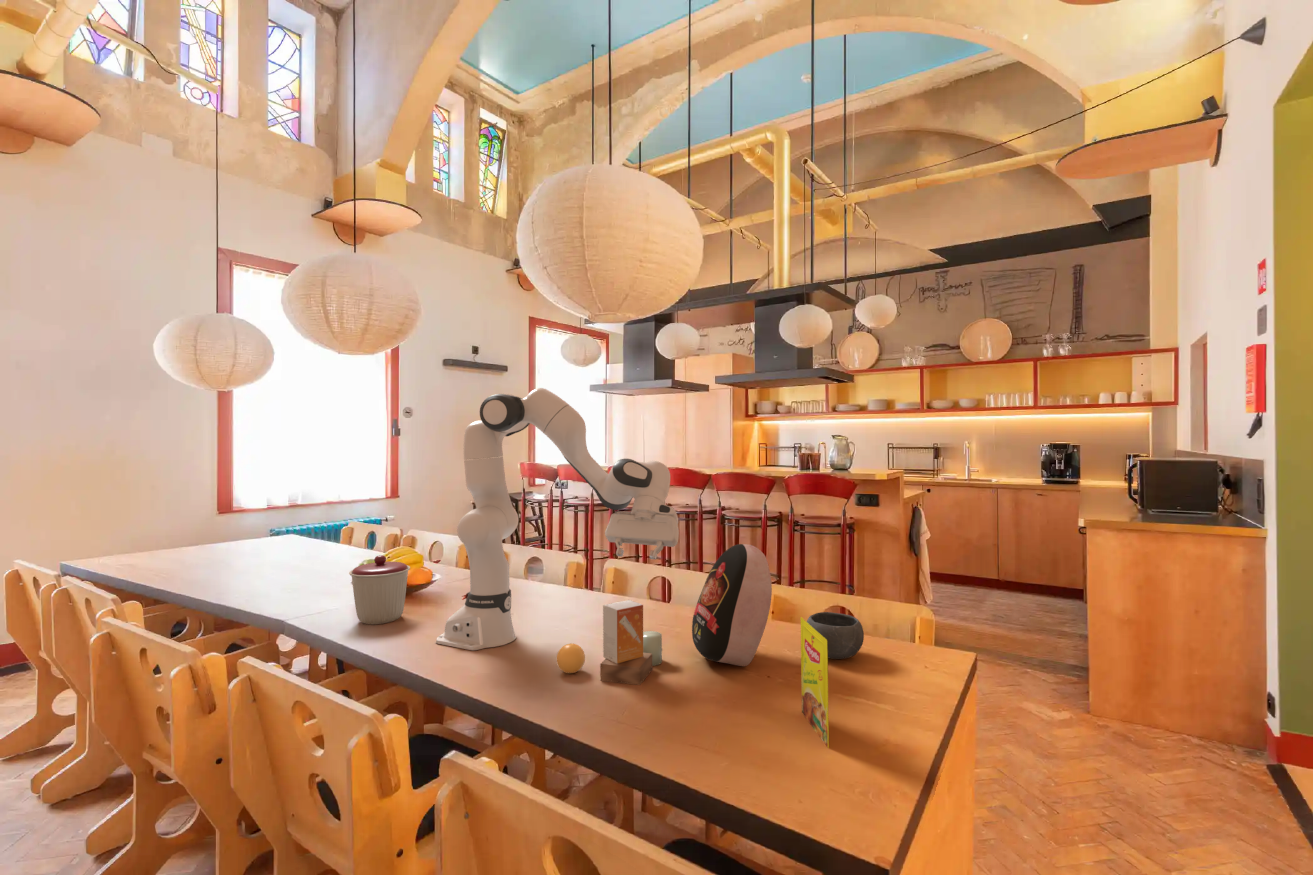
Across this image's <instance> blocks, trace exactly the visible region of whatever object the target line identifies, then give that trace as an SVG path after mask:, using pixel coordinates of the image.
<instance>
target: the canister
mask: <svg viewBox="0 0 1313 875" xmlns="http://www.w3.org/2000/svg"><path fill="white" fill-rule="evenodd" d="M373 560H374V562H371V563H365V564H360V565H358V566H356V567H354V568H353V569H352V570H350V571H349V573H348V574H349V575H350V576H351V582H352V584H351V585H352V591H353V600H354V606H355V611H356V618H357V619H358V620H359V622H360V623H362V624H366V625H383V624H387V623H391V622H395V621H397V620H398V619H400V617H401V616H402V615H403V614H404V610H405V602H406V593H407V584H408V575H409V571H410V569H411V566H410V565H407V564H406V563H403V562H402V561H387V557H386V556H385V555H384V554H383V555H381V554H379V555H375V558H374V559H373Z"/></svg>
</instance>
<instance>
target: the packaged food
mask: <svg viewBox="0 0 1313 875" xmlns="http://www.w3.org/2000/svg"><path fill="white" fill-rule="evenodd" d="M772 587H773V586H772V577H771V572H770V566H769V563H768V559H767V557H766V555H765V553H763V552H762V550H760V549H759V547H756V546H755V545H752V544H746V543H737V544H735V545H733V546H730V547H729V548H728V549H726V550H725V551H724V552H723V553H722V554H721V555H720V556H719V557H718V558H717V560H716V561H715V562H714V564H713V566H712V568H711V569H710V570H709V572H708V575H707V577H706V579H705V581H704V584H703V586H702V590H701V591H700V595H699V597H698V600H697V603H696V605H695V609H694V612H693V615H692V616H693V617H692V622H691V623H692V624H691V625H692V626H691V635H692V642H693V644H694V647H695V649H696V650H697V651H698V652H699V654H700V655H701V656H702V657H704V658H706V660H709V661H712V662H717V663H718V662H719V663H724V664H730V665H733V666H738V667H746V666H748V665H750V663H751V662H752V661H753V659H754V657H755V655H756V653H757V651H758V647H759V646H760V643H761V640H762V638H763V635H764V631H765V630H766V627H767V626H766V625H767V623H768V619H769V614H770V609H771V603H772V595H773V594H772V593H773V592H772V590H773V589H772Z"/></svg>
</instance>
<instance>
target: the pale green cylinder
mask: <svg viewBox="0 0 1313 875" xmlns="http://www.w3.org/2000/svg"><path fill="white" fill-rule="evenodd" d="M662 644H663V634H662V633H661V632H659V631H655V630H653V631H652V630H649V631H648V630H647V631H643V653H652V667H654V666H659V665H660V664H662V663H663V662H662V661H663V650H662V649H663V645H662Z"/></svg>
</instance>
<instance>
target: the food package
mask: <svg viewBox="0 0 1313 875" xmlns="http://www.w3.org/2000/svg"><path fill="white" fill-rule="evenodd" d="M800 667H801V668H800V671H801V674H800V675H801V677H800V679H801V681H800V682H801V684H800V685H801V713H802V714H803V716H804V717H805V719H806V721H807V722H808V723H809V724H810V725H811V727H812V729H813V730H814V732H815V733H816V734H817V735H818V737H819V738H820V739H821V741H822V742H823V743H824V744H825V746H826V747H827V749H829V748H830V747H829V746H830V745H829V743H830V742H829V740H830V736H829V735H830V730H829V728H830V727H829V724H830V722H829V675H828V674H829V670H828V667H829V658H828V649H827V640H826V639H825V638H824V637H823V636H822V635H821V634H820V633H818V632H817V631H816V630H815V629H814V628H813V627H812V626H811V625H809V624H808V623H807V620H806V619H804V618H803V617H802V616H800Z"/></svg>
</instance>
